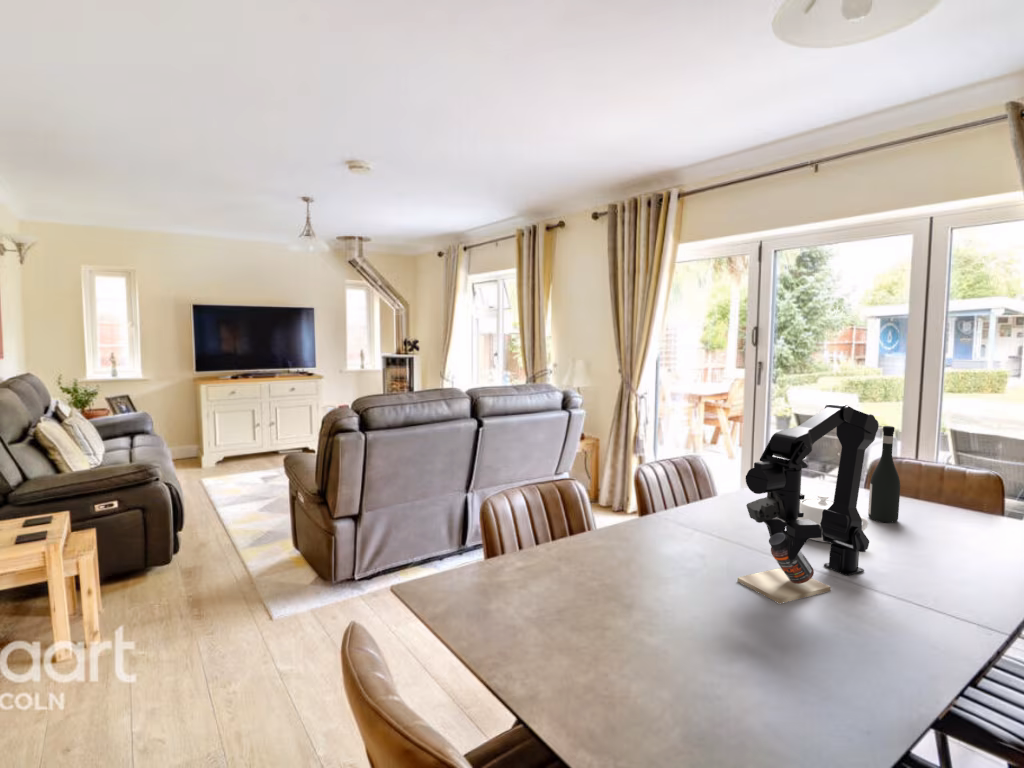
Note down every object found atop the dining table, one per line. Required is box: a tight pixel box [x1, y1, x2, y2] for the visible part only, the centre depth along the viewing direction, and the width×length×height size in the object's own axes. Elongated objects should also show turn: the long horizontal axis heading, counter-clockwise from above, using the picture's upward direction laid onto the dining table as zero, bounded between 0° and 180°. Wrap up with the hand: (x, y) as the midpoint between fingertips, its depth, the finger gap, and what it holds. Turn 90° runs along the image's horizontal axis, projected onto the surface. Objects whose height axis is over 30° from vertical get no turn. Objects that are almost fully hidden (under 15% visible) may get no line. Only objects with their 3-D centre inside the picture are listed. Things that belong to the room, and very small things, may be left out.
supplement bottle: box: [768, 533, 815, 584], centre depth 128 cm, size 6×6×11 cm
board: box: [737, 567, 832, 605], centre depth 129 cm, size 16×12×1 cm
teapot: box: [797, 494, 869, 543], centre depth 161 cm, size 25×16×12 cm, turn 40°
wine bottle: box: [867, 425, 901, 524], centre depth 175 cm, size 8×8×30 cm
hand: (783, 554), depth 128 cm, fingers closed on supplement bottle, 6 cm apart
